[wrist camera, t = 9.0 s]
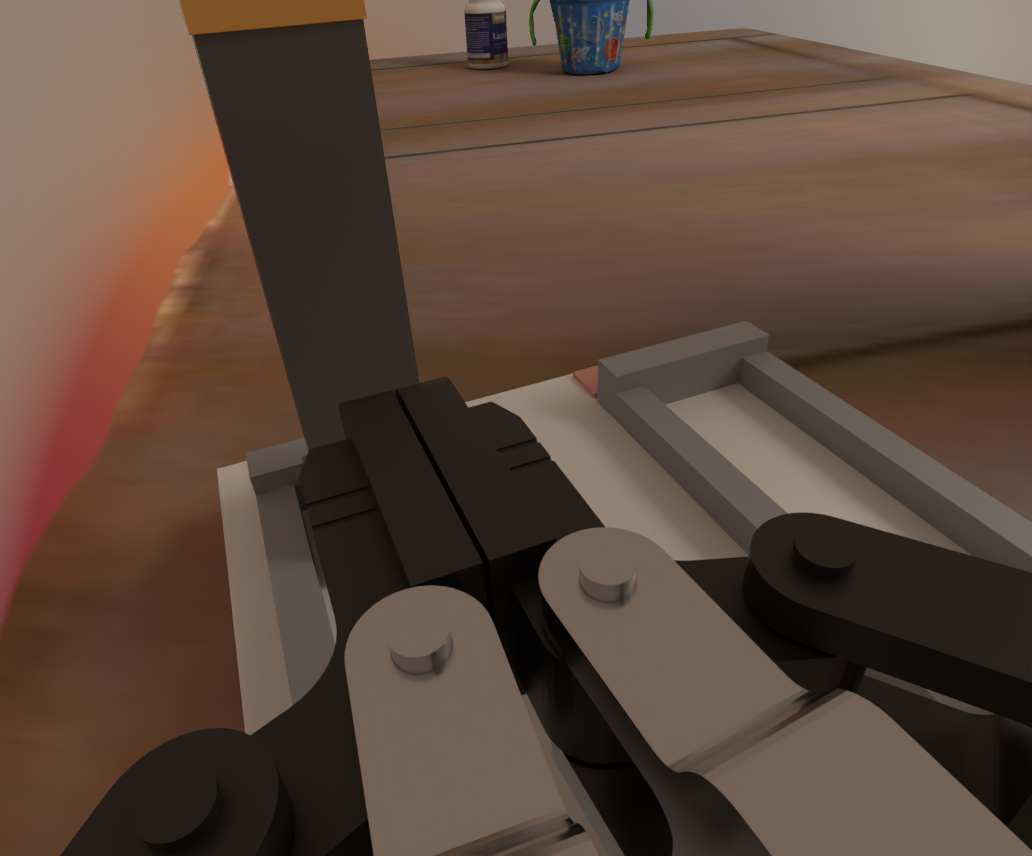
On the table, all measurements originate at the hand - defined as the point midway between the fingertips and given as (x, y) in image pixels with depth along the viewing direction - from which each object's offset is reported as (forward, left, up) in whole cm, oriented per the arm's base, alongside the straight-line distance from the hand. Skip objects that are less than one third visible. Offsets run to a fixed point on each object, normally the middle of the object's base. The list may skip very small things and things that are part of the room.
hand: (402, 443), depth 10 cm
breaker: (-4, -4, -7) cm, 9 cm away
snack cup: (-91, -25, -9) cm, 95 cm away
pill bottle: (-94, -41, -9) cm, 103 cm away
